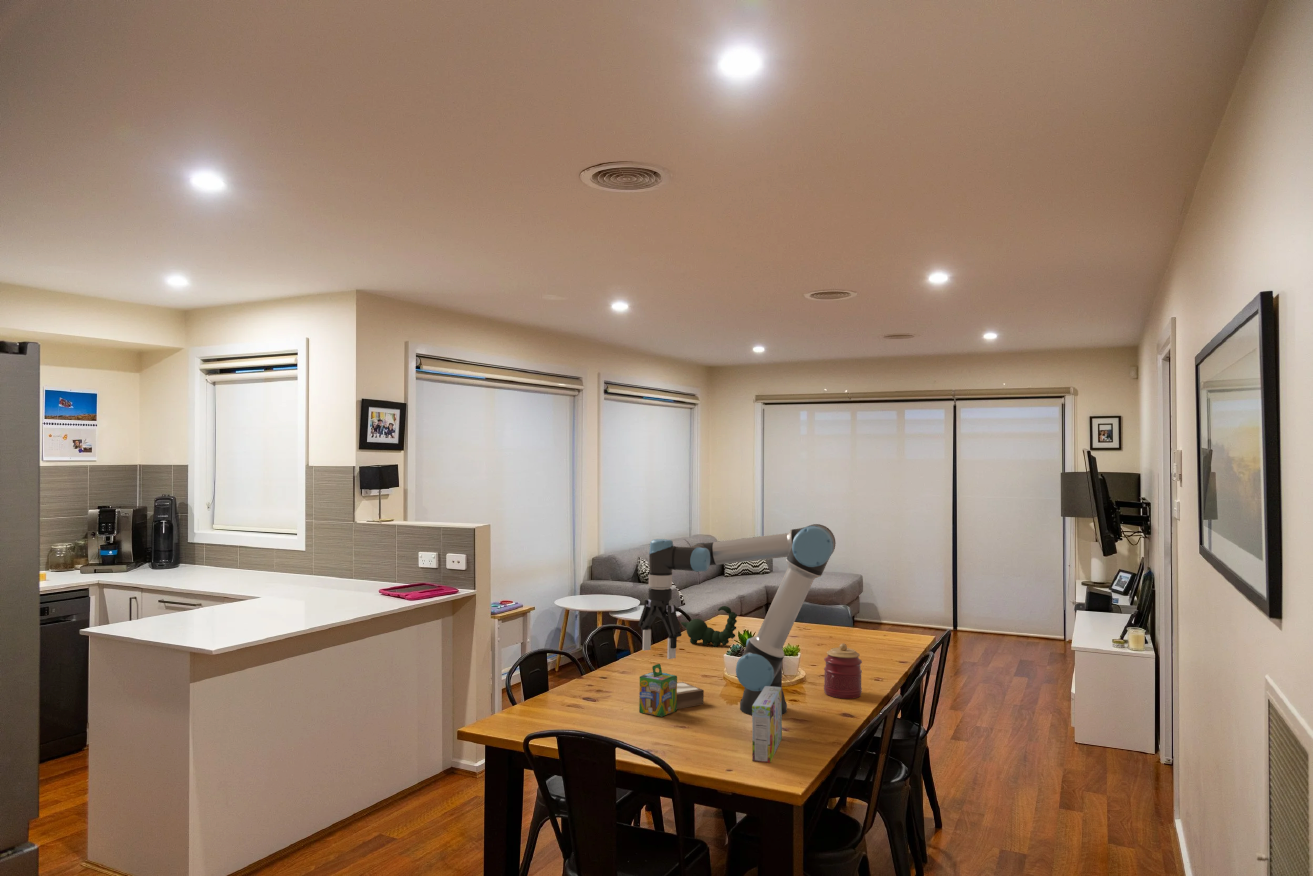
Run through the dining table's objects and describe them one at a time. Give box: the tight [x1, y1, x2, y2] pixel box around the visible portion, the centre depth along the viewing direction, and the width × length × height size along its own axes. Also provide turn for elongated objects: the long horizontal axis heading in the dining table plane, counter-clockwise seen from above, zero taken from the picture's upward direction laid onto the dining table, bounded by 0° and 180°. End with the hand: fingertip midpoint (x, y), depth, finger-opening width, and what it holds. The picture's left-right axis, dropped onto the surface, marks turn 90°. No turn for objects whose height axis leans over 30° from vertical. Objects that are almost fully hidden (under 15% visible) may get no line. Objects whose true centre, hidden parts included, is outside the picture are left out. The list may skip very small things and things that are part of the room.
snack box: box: [751, 686, 783, 764], centre depth 230 cm, size 21×6×15 cm, turn 163°
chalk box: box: [638, 663, 678, 718], centre depth 263 cm, size 9×9×15 cm
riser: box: [677, 681, 705, 710], centre depth 274 cm, size 12×12×5 cm
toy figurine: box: [680, 605, 738, 648], centre depth 364 cm, size 9×19×25 cm
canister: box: [823, 642, 863, 700], centre depth 288 cm, size 13×13×18 cm
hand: (658, 654), depth 264 cm, fingers open, 13 cm apart
